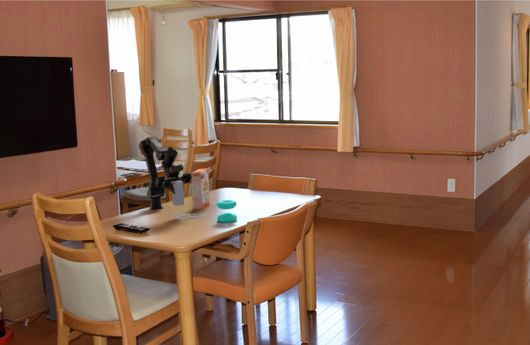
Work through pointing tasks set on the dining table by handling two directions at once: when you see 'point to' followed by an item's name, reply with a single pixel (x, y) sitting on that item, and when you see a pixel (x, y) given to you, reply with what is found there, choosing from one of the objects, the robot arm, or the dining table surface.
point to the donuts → (226, 216)
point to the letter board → (189, 215)
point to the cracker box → (200, 188)
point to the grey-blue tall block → (178, 193)
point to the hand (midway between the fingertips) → (178, 192)
